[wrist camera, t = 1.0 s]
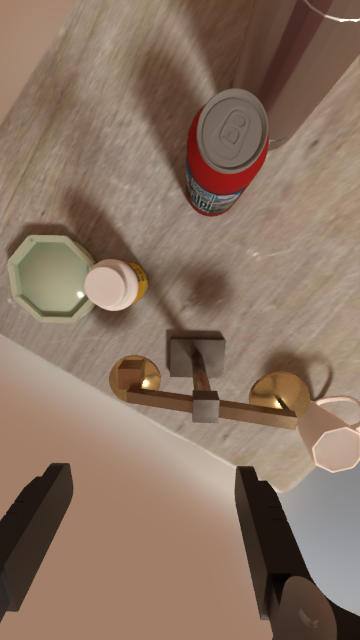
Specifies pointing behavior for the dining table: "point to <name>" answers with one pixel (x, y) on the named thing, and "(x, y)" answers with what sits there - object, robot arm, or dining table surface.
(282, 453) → the dining table surface
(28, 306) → the dish
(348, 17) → the robot arm
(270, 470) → the dining table surface
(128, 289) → the supplement bottle
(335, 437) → the cup
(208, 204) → the beverage can
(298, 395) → the balance
